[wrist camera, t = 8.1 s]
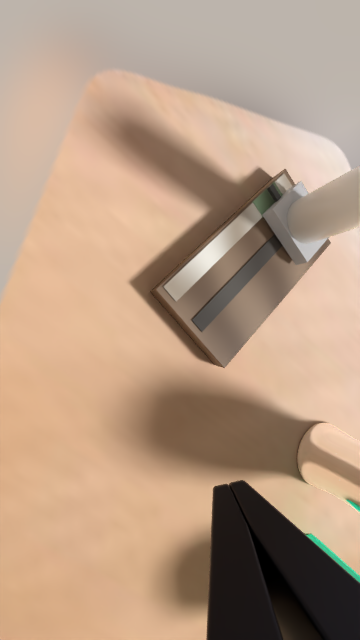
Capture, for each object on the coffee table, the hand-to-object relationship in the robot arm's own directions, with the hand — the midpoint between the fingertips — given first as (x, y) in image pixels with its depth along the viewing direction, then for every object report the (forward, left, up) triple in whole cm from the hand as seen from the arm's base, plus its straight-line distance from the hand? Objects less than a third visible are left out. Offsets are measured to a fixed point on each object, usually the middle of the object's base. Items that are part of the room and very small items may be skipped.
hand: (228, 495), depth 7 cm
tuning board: (+14, +2, -13) cm, 19 cm away
